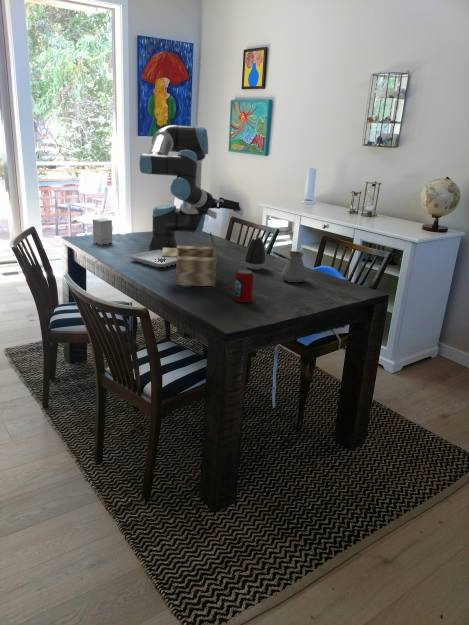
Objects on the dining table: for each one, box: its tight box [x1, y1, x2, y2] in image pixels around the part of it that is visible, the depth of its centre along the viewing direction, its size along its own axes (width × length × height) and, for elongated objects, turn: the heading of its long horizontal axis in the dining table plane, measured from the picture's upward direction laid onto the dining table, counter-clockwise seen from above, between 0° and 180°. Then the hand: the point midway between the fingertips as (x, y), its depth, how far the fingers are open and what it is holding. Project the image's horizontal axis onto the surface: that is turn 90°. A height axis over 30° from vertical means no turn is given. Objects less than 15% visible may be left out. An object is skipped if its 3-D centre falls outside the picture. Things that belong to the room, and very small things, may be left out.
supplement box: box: [92, 217, 113, 246], centre depth 266 cm, size 7×7×13 cm
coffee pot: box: [271, 250, 308, 283], centre depth 220 cm, size 21×12×15 cm, turn 132°
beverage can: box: [233, 268, 254, 303], centre depth 192 cm, size 7×7×12 cm
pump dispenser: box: [244, 236, 267, 271], centre depth 238 cm, size 10×10×15 cm
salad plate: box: [129, 250, 177, 268], centre depth 239 cm, size 21×21×3 cm
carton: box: [162, 245, 219, 288], centre depth 211 cm, size 22×24×13 cm
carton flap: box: [209, 231, 219, 259], centre depth 209 cm, size 8×13×1 cm
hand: (228, 213), depth 221 cm, fingers open, 13 cm apart
